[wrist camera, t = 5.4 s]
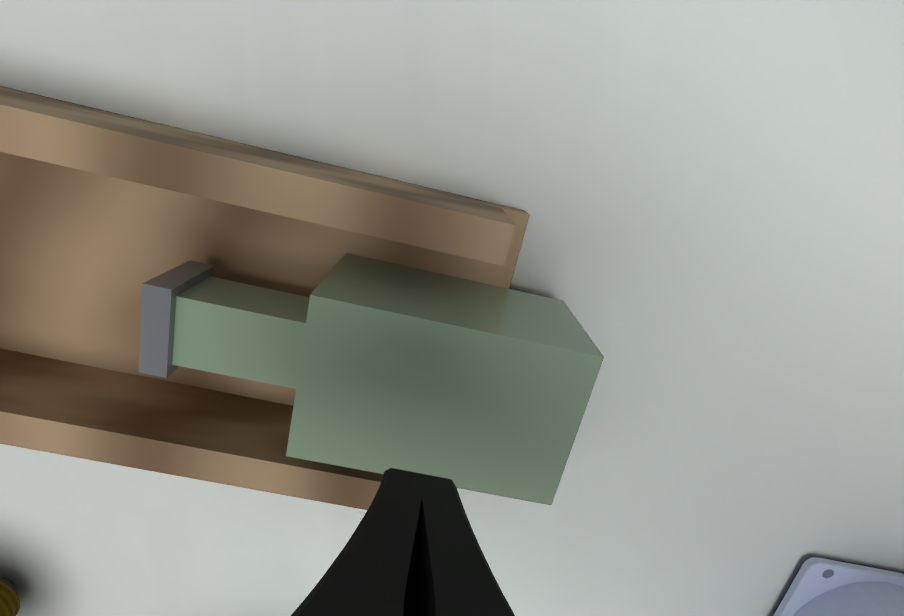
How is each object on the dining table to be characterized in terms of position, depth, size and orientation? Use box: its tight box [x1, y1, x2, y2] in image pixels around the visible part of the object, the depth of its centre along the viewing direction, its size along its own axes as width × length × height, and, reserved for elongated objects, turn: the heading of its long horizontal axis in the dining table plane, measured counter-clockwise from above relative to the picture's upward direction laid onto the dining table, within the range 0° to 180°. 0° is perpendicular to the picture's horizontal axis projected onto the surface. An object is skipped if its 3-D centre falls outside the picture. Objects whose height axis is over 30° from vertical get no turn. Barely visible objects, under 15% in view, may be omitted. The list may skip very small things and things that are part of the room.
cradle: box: [0, 86, 530, 510], centre depth 17 cm, size 21×10×5 cm, turn 77°
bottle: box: [139, 253, 604, 505], centre depth 16 cm, size 5×5×13 cm
